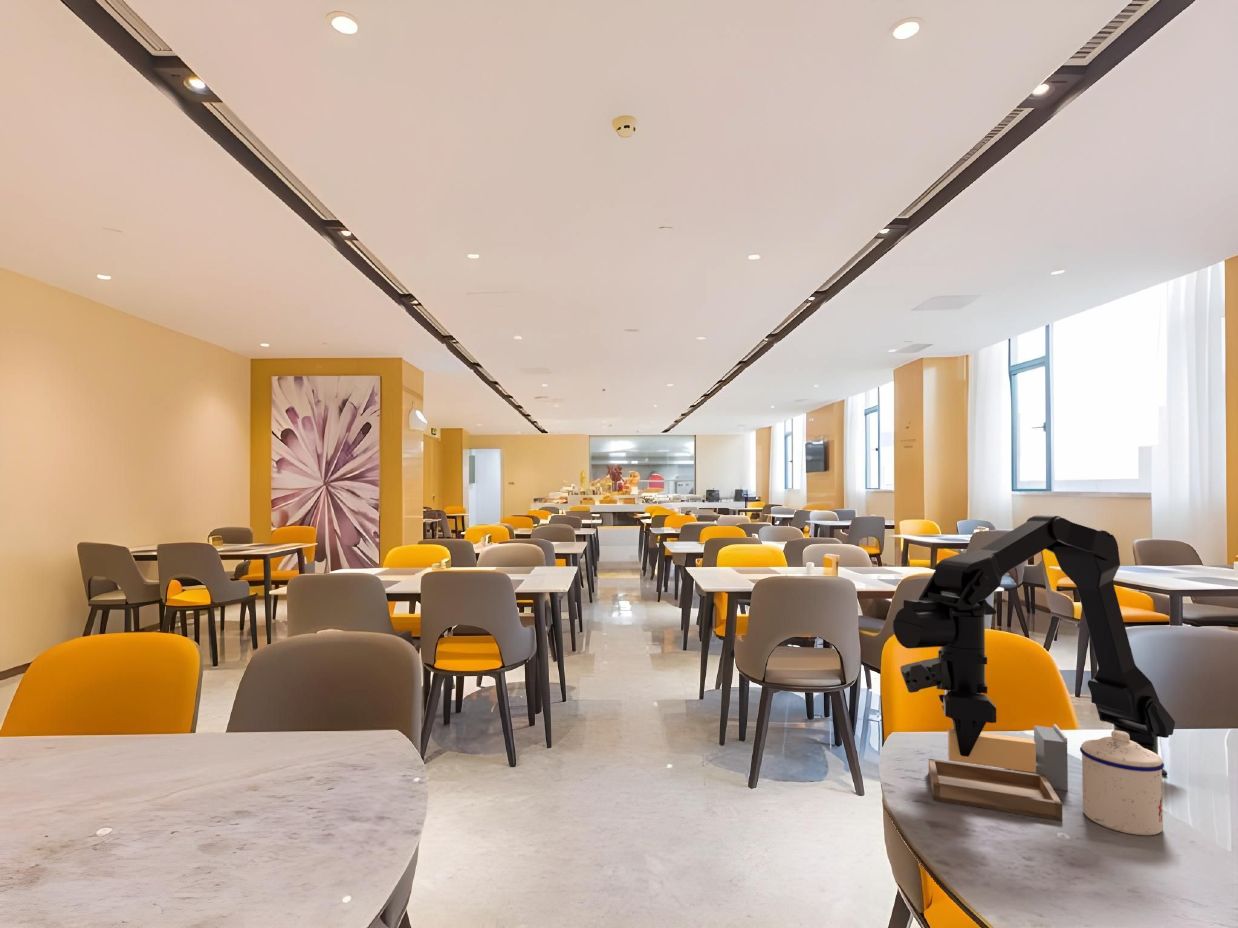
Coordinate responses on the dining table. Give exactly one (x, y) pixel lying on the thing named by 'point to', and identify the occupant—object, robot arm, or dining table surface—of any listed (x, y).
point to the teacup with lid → (1122, 785)
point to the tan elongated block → (996, 751)
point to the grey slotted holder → (1051, 756)
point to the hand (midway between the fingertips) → (963, 752)
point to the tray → (994, 789)
